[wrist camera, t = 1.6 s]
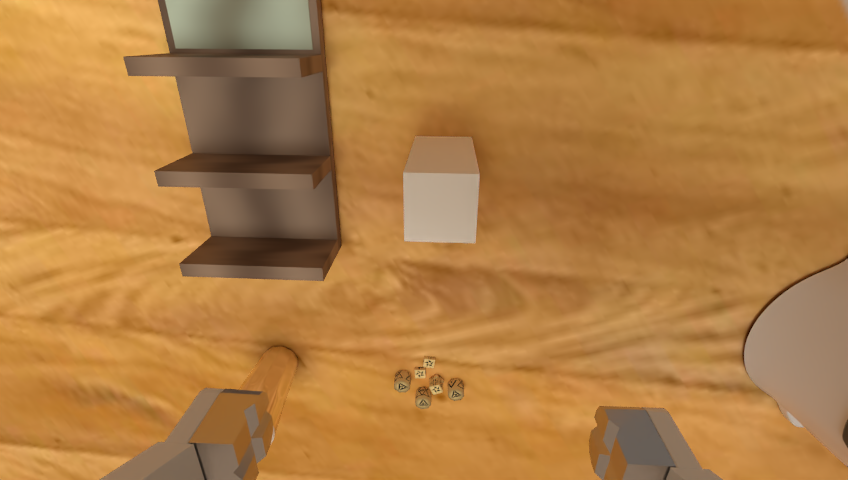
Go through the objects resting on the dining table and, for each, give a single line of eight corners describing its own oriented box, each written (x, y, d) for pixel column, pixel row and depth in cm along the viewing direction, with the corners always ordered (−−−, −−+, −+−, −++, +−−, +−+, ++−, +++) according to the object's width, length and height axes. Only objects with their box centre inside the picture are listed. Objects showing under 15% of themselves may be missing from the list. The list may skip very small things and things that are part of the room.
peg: (471, 136, 31) (479, 174, 22) (468, 190, 32) (475, 243, 24) (415, 135, 31) (403, 172, 23) (415, 189, 32) (404, 241, 24)
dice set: (466, 381, 41) (467, 396, 39) (422, 402, 43) (421, 417, 41) (436, 345, 40) (436, 359, 38) (392, 368, 41) (389, 383, 39)
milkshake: (243, 341, 40) (182, 431, 31) (299, 338, 39) (255, 429, 30) (255, 379, 42) (202, 474, 33) (309, 377, 41) (271, 473, 32)
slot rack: (314, -66, 26) (283, -90, 21) (341, 245, 35) (323, 280, 30) (152, -66, 26) (84, -89, 21) (220, 242, 35) (182, 276, 30)
